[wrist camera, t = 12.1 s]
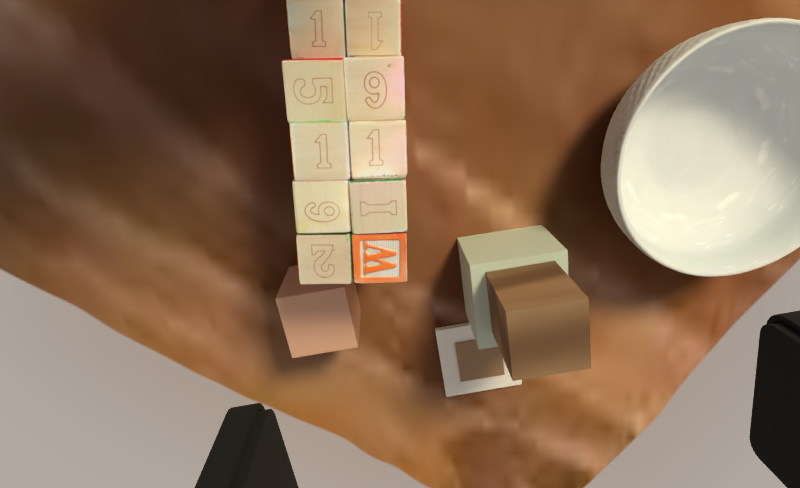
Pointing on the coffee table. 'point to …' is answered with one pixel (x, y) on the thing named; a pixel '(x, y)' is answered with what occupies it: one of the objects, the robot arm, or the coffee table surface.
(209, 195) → the coffee table surface
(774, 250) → the cereal bowl
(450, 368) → the tile
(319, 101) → the stack of blocks
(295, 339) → the terracotta block
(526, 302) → the walnut block
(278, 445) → the robot arm
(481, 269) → the sage base block
